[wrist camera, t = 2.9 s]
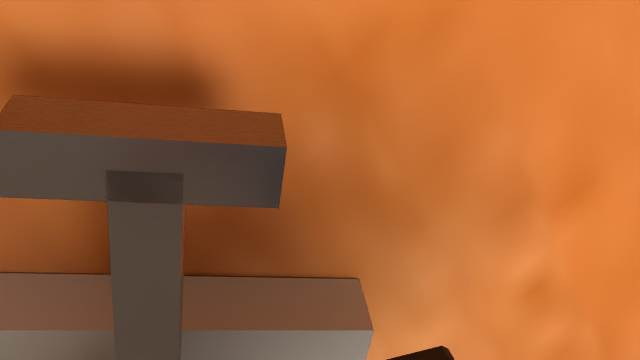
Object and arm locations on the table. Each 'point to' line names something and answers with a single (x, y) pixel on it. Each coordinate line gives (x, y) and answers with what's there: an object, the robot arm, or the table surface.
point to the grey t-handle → (142, 189)
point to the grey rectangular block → (189, 318)
